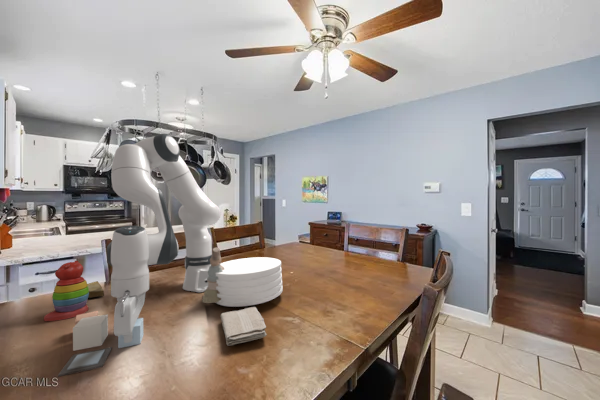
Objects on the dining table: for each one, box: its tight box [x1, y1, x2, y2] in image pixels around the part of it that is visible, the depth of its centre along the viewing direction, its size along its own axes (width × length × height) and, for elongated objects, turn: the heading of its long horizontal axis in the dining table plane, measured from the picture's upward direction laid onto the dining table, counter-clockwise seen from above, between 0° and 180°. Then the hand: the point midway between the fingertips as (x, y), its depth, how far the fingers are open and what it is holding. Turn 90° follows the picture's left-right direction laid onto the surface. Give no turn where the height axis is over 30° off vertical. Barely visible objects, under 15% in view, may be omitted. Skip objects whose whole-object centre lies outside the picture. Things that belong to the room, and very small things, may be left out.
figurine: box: [201, 246, 224, 304], centre depth 96 cm, size 9×8×20 cm
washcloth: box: [220, 306, 268, 346], centre depth 78 cm, size 12×18×3 cm, turn 24°
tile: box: [57, 346, 113, 377], centre depth 62 cm, size 8×8×1 cm
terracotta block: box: [74, 310, 99, 326], centre depth 75 cm, size 5×5×5 cm
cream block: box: [72, 313, 109, 351], centre depth 70 cm, size 6×6×6 cm
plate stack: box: [214, 256, 283, 308], centre depth 104 cm, size 28×28×12 cm
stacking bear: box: [43, 260, 89, 322], centre depth 88 cm, size 11×10×18 cm
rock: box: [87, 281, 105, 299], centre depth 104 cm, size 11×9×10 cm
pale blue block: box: [117, 317, 144, 349], centre depth 70 cm, size 5×5×5 cm
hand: (131, 335), depth 70 cm, fingers closed on pale blue block, 5 cm apart
